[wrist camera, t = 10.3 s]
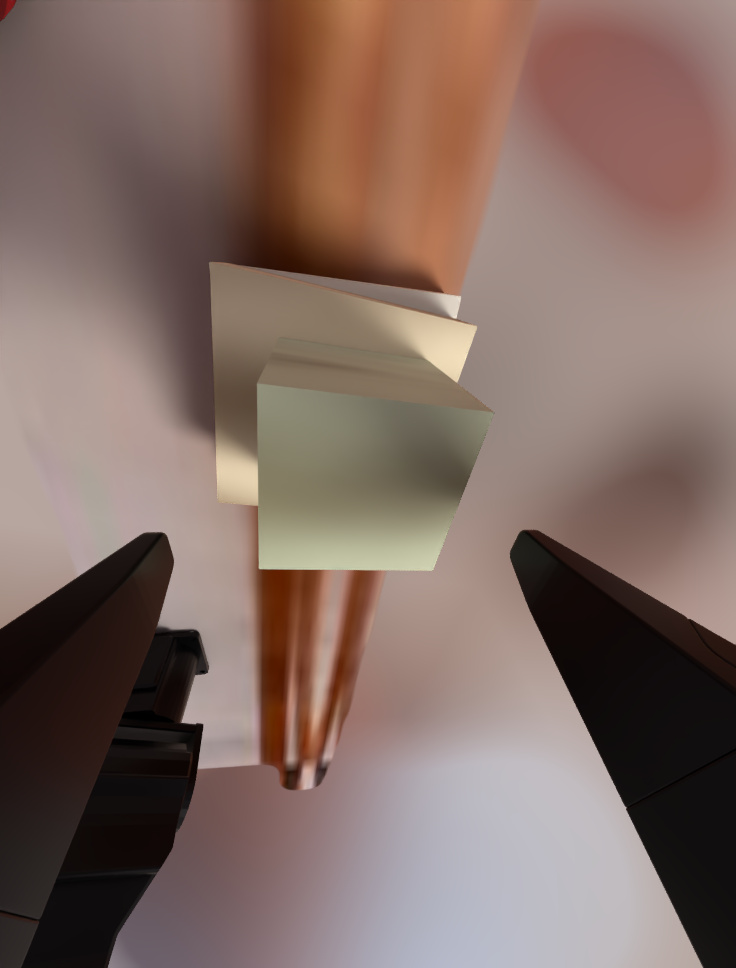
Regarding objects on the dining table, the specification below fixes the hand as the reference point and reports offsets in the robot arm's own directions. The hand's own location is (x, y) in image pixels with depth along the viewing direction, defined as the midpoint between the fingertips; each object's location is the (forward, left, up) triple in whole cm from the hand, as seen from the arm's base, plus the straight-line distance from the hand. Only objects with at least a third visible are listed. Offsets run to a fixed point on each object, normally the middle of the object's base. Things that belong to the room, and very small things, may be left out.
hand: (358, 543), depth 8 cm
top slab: (0, 0, -11) cm, 11 cm away
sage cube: (0, 0, -8) cm, 8 cm away
